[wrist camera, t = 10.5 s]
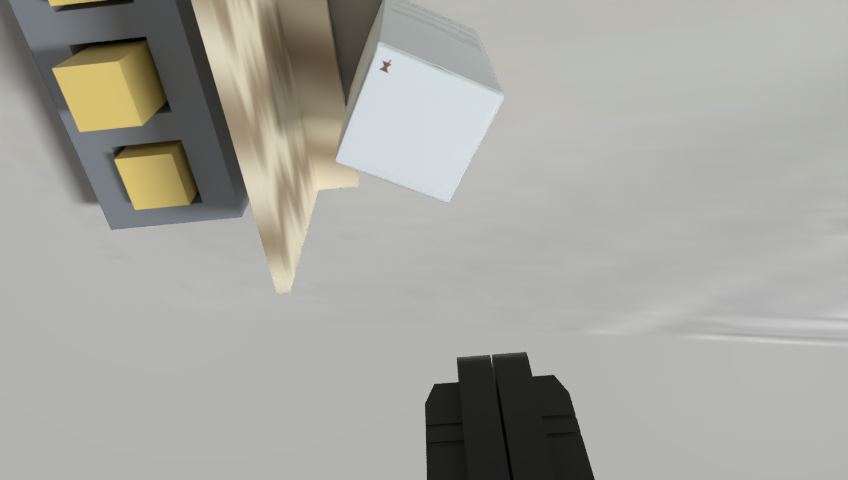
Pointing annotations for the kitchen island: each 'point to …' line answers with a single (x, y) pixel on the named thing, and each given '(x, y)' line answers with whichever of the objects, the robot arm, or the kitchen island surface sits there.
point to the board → (176, 120)
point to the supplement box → (418, 101)
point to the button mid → (111, 85)
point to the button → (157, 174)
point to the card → (279, 112)
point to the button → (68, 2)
